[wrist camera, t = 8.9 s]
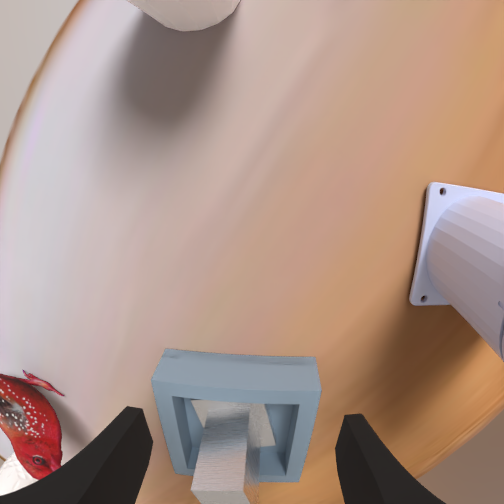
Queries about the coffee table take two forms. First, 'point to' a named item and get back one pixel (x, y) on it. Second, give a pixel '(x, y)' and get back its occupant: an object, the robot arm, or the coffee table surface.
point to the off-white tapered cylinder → (187, 12)
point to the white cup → (13, 476)
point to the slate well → (242, 391)
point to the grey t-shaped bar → (230, 451)
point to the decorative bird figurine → (30, 424)
